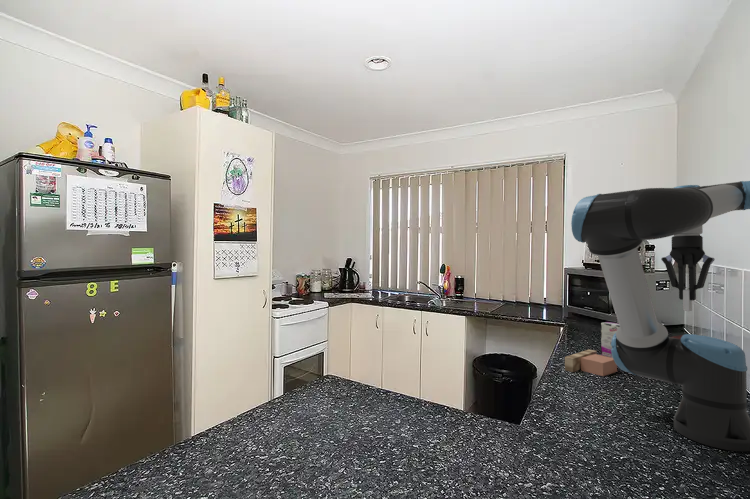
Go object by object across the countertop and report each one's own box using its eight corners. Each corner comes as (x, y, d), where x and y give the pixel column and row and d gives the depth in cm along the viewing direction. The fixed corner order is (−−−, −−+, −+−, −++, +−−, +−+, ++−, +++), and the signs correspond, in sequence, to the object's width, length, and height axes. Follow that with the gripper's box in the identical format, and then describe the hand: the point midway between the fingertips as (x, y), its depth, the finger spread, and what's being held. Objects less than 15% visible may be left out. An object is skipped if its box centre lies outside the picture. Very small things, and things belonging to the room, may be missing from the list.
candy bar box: (637, 368, 143) (636, 326, 143) (629, 370, 141) (628, 327, 141) (608, 361, 153) (608, 321, 154) (600, 362, 151) (600, 322, 151)
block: (603, 376, 135) (602, 363, 135) (581, 371, 142) (580, 357, 142) (617, 372, 140) (616, 358, 140) (595, 366, 147) (595, 354, 147)
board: (572, 372, 139) (572, 358, 140) (564, 370, 142) (564, 357, 142) (596, 363, 151) (596, 350, 151) (588, 361, 153) (588, 349, 153)
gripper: (717, 234, 114) (718, 312, 114) (665, 236, 125) (666, 307, 125) (710, 234, 110) (711, 314, 110) (657, 235, 120) (658, 309, 120)
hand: (687, 310), depth 117 cm, fingers closed
